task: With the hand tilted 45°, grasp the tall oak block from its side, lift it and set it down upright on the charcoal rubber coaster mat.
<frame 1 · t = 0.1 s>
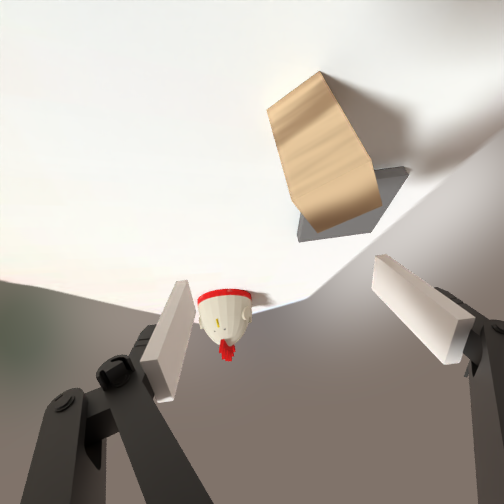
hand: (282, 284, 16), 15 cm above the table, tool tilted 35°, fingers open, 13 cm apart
kitchen timer: (224, 298, 61), on the table
coaster mat: (342, 205, 34), on the table
oak block: (302, 115, 22), on the table
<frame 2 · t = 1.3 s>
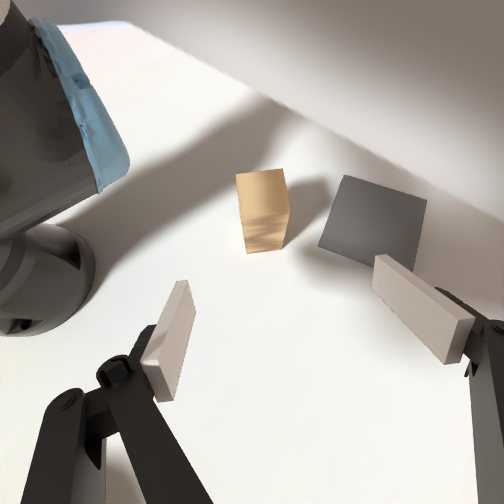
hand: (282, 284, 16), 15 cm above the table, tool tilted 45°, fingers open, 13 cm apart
coaster mat: (370, 225, 34), on the table
oak block: (261, 235, 34), on the table
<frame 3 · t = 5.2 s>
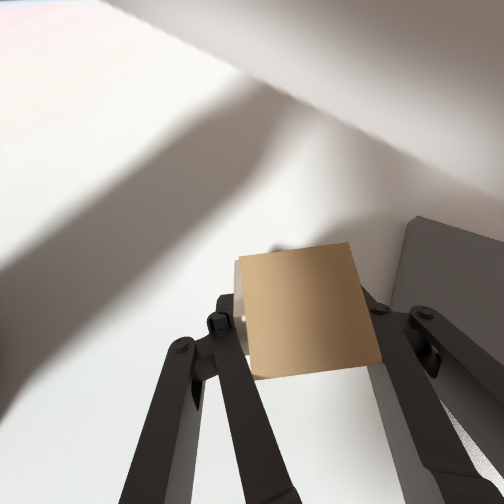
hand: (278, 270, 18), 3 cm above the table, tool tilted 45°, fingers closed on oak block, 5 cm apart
coaster mat: (468, 305, 20), on the table
oak block: (282, 323, 20), on the table, touching gripper
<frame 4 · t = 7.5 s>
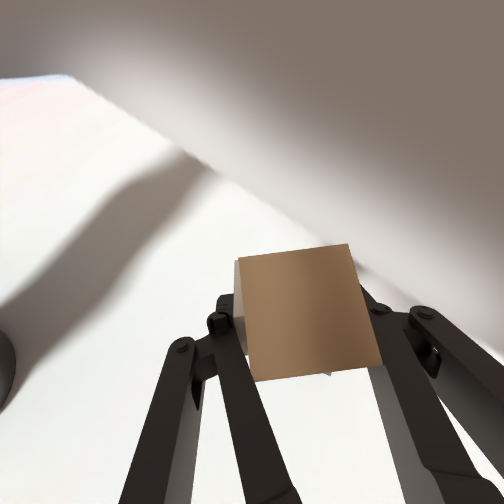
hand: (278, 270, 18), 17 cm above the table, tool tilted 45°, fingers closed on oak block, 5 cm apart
oak block: (282, 323, 20), point 14 cm above the table, touching gripper
when the fingers open (6 cm above the table, at t = 10.1 s): oak block stays where it is, resting on coaster mat.
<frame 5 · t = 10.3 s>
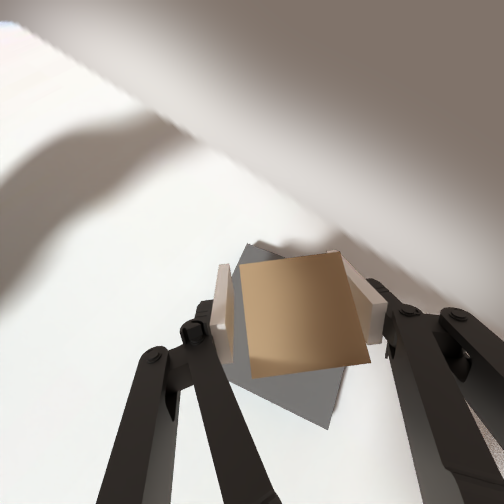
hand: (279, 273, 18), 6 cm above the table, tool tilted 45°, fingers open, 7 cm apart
coaster mat: (280, 324, 22), on the table
oak block: (280, 324, 21), point 2 cm above the table, touching coaster mat
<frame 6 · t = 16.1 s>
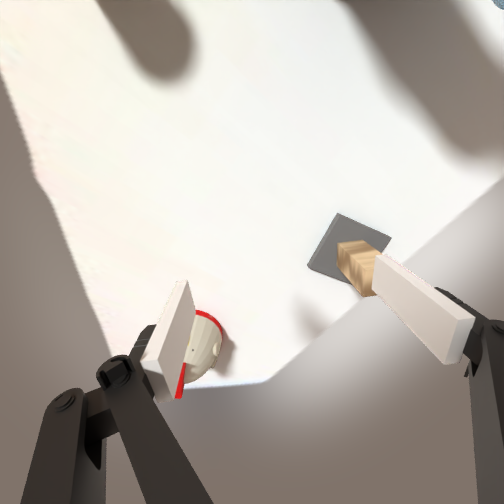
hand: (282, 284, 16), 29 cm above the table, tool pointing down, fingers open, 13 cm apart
kitchen timer: (192, 332, 55), on the table
coaster mat: (346, 250, 48), on the table
oak block: (349, 252, 46), point 1 cm above the table, touching coaster mat
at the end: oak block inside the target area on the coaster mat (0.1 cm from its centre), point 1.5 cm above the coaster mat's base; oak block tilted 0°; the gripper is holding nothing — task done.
